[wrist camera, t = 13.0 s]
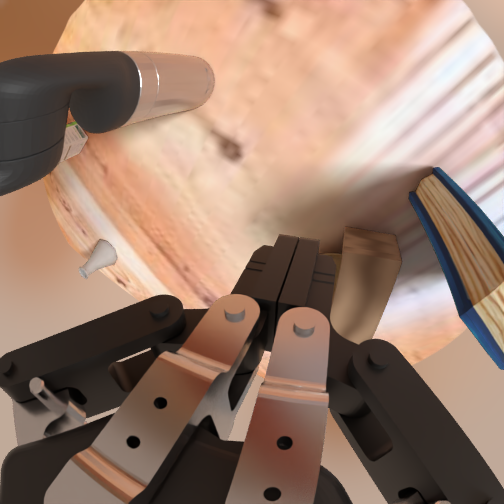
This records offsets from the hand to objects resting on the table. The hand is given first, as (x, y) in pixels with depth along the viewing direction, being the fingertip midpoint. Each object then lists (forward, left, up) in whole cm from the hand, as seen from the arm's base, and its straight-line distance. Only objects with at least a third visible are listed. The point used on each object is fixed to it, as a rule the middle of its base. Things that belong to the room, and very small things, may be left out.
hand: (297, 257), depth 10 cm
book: (+23, -10, -31) cm, 40 cm away
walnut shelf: (+8, -25, -31) cm, 41 cm away
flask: (-51, -29, -31) cm, 66 cm away
